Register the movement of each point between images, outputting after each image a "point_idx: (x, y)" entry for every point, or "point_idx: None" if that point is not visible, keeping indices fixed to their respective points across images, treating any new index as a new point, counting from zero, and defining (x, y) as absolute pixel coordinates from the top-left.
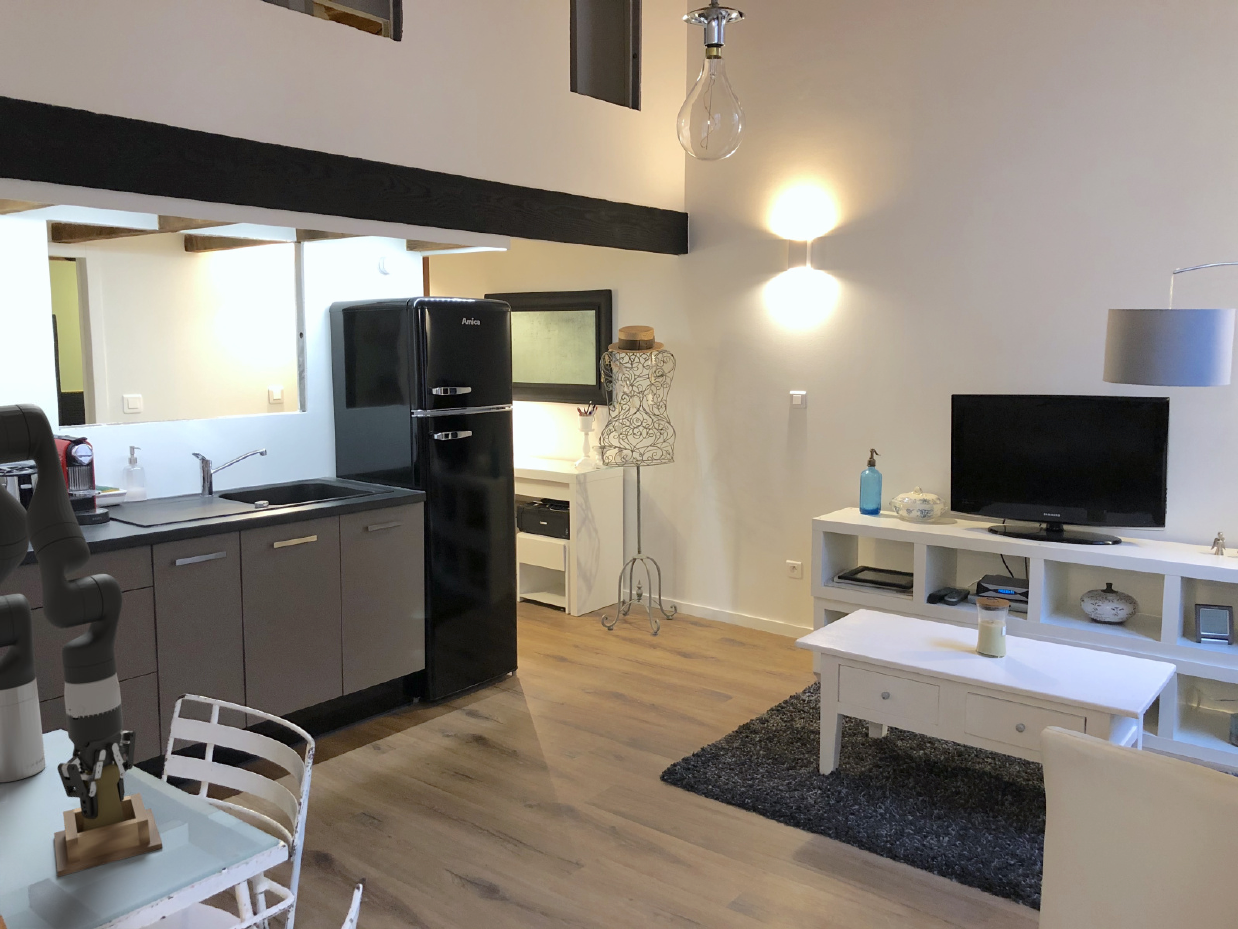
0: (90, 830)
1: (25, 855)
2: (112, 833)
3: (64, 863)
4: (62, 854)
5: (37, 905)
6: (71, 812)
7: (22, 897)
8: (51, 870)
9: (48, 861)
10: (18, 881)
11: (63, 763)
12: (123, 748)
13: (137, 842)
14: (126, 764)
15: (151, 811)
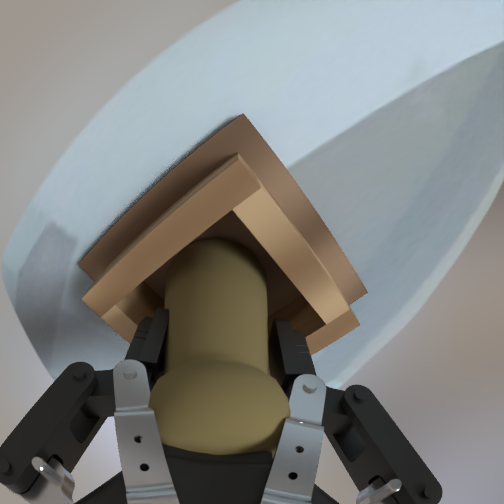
0: (136, 328)
1: (148, 103)
2: None
3: (103, 257)
4: (134, 224)
5: (24, 281)
6: (234, 197)
7: (26, 240)
8: (98, 225)
9: (127, 188)
10: (55, 186)
11: (9, 489)
12: (368, 473)
13: None
14: (330, 436)
15: (352, 301)
